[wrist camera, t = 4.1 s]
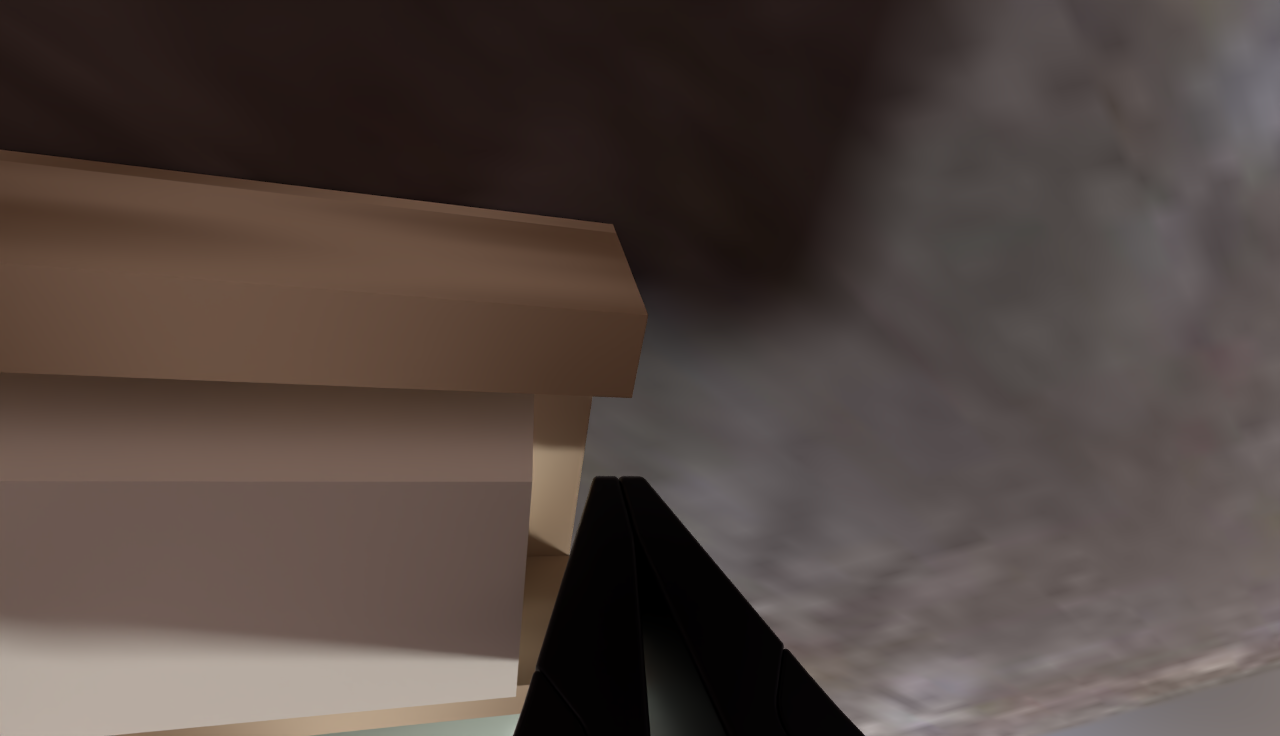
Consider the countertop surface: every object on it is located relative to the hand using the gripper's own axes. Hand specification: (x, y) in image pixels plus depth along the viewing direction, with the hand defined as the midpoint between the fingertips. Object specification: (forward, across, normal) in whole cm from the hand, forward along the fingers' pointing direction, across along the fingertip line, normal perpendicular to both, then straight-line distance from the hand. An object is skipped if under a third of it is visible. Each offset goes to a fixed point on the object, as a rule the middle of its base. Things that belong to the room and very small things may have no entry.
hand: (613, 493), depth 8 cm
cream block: (+1, +4, 0) cm, 5 cm away
